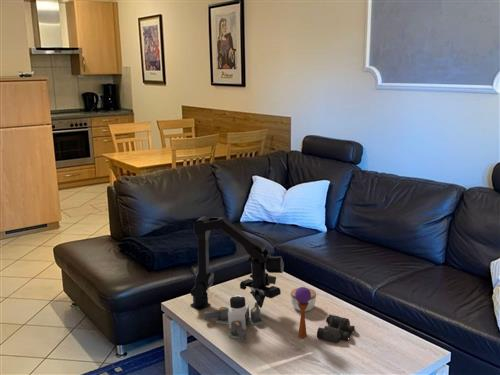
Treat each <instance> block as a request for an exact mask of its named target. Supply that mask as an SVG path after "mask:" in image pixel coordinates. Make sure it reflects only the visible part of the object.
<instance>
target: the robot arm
mask: <svg viewBox="0 0 500 375" xmlns="http://www.w3.org/2000/svg"><path fill="white" fill-rule="evenodd" d="M192 227H193V232H194V235H195V237H196V239H197V262H198V263H197V266H198V268H197V271H198V272H197V275H196V278H195V283H194V287H193V288H192V289H190V291H189V293H190V296H192V303H191V304H190V306H191V307H192V308H194V309H197V310H199V311H201V310H202V309H205V308H208V307H210V306H211V303H210V302H209V297H208V293H207V291H208V290H209V288H210V287H211V286H212V285H213V283H214V282H215V278H214V275H215V273H214V272H211V270H210V257H209V256H210V254H209V247H210V246H209V245H210V244H209V237H210V234H211V231H212V230H216V229H220V230H221V231H222V232H223V233H225V234H227V235H228V236H229V237H230V238H232V239H233V240H234V241H236V242H237V243H239V244H240V246H242V247H243V249H244V251H245V253H246V254H248V256H249V257H248V258H247V259H246V260H245V262H246V263H250V264H251V266H250V267H251V274H249V277H250V278H247V279H244V280H242V281H241V282H239V289H241V290H247V287H249V289H250V291H249V294H251V295H252V297H253V298H254V300H255V301H256V303H258V305H259V309H261V308H263V305H264V302H265V300H266V299H265V298H269V299H273V298H276V297H278V296H280V295H281V293H282V292H281V288H280V287H278V286H275V285H276V284H277V283H276V281H277V276H275V275H270V274H272V273H273V274H283V273H284V268H285V265H284V264H285V263H284V260H283V257H282V256H281V255H277V256H273V255H272V256H271V253H270V252H269V250H268V249H267V248H266V245H265V243H264V242H263V241H262V240H259V239H257V238H255V237H252V236H249V235H248V234H246V233H245V232H244V231H242V230H241V229H240V228H238V226H235V225H234V224H233V223H232V222H230V221H229V220H228V219H227V217H225V216H218V217H215V216H214V217H212V216H211V217H208V216H201V217H200V218H198V219H197V220H195V222H194V223H193V226H192ZM270 284H271V285H272V286H270Z"/></svg>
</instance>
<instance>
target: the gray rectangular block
mask: <svg viewBox="0 0 500 375" xmlns="http://www.w3.org/2000/svg"><path fill="white" fill-rule="evenodd" d="M230 331H231V333H232V334H233V335H239V336H240V340H242V341H248V332H247V331H246V329H243V328H242V322H241V321H233V322H232V323H231V329H230Z"/></svg>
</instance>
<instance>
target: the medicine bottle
mask: <svg viewBox="0 0 500 375" xmlns="http://www.w3.org/2000/svg"><path fill="white" fill-rule="evenodd" d="M229 305H230V308H228V309H229V312H228V321H229V323H228V328H229V329H230V330H231V323H232V322H233V321H241V322H242V328H243V329H244V330H247V329H248V326H249V325H250V324H249V321H250V306H249V304H246V298H245V296H243V295H239V294H238V295H233V296H232V297H230V299H229Z"/></svg>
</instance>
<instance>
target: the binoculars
mask: <svg viewBox="0 0 500 375" xmlns="http://www.w3.org/2000/svg"><path fill="white" fill-rule="evenodd" d="M325 320H326V322H325V323H326V324H327V325H325V326H324V327H318V328H317V330H316V338H318V339H320V340H324V341H328V342H333V343H336V342H337V343H336V344H339V343H338V342H340V341H341V339H342V340H344V341H347V342H349V340H348V338H351V333H352V332H353V331H354V332H355V325H351V321H350V319H349V318H347V317H341V316H339V315H336V314H335V315H334V314H329V315H328V316H327V317H326V318H325ZM354 332H353V333H354ZM353 333H352V334H353Z"/></svg>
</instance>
